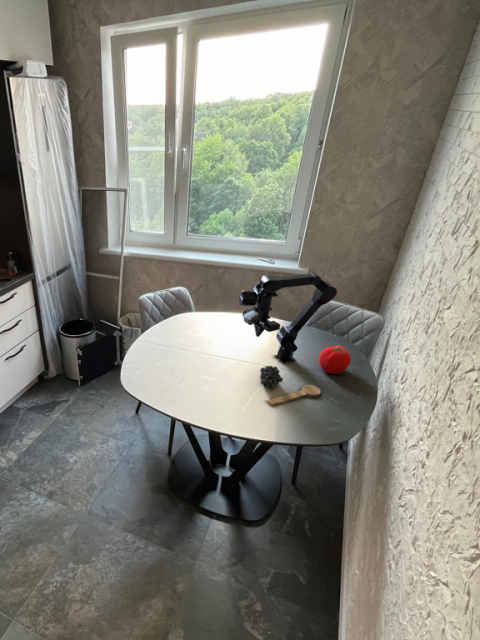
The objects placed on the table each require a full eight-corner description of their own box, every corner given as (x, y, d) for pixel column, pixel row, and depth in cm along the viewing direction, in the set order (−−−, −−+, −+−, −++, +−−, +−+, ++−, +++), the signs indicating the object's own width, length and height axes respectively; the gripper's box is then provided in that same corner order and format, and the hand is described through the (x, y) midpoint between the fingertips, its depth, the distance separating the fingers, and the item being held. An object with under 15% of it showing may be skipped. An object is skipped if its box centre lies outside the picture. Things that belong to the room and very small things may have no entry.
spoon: (310, 385, 170) (311, 383, 169) (323, 394, 164) (324, 392, 164) (264, 399, 164) (264, 396, 163) (275, 408, 158) (276, 406, 158)
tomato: (311, 371, 179) (318, 349, 172) (322, 359, 187) (328, 337, 180) (341, 381, 172) (349, 358, 165) (350, 368, 179) (358, 345, 173)
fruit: (263, 354, 175) (269, 372, 163) (281, 360, 175) (288, 379, 163) (254, 369, 180) (258, 388, 168) (271, 375, 180) (277, 394, 168)
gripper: (235, 300, 180) (230, 331, 189) (262, 317, 165) (256, 349, 174) (255, 296, 183) (250, 326, 191) (284, 311, 168) (277, 344, 177)
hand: (257, 336), depth 183 cm, fingers closed
